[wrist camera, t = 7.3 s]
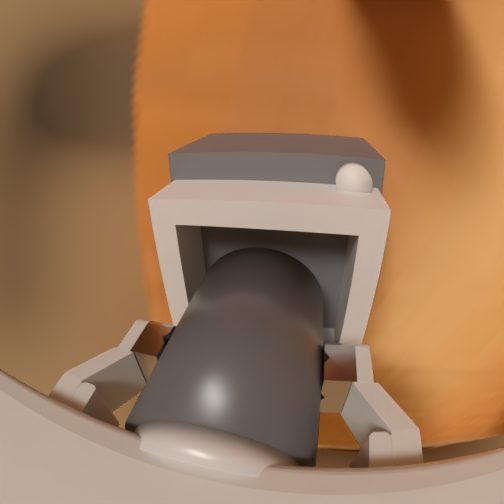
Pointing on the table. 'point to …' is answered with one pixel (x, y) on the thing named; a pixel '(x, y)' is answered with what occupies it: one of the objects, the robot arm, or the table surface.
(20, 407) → the robot arm
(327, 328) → the camera body
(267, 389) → the lens
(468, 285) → the table surface
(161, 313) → the table surface
